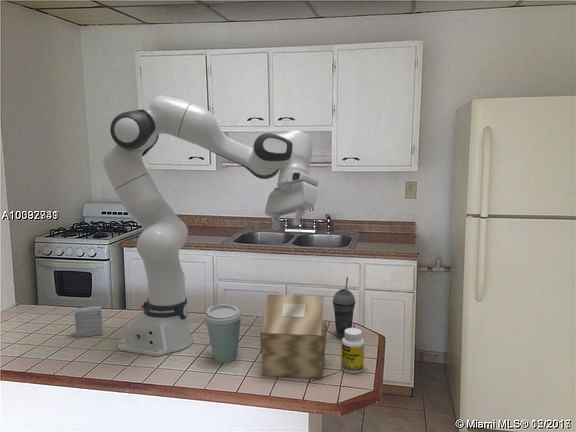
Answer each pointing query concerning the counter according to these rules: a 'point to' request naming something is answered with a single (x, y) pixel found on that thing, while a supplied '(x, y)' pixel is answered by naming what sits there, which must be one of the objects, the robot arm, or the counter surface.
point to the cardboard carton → (293, 355)
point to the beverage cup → (343, 310)
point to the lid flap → (293, 315)
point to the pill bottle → (352, 351)
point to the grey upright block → (88, 321)
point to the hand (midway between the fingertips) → (285, 227)
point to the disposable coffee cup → (223, 331)
